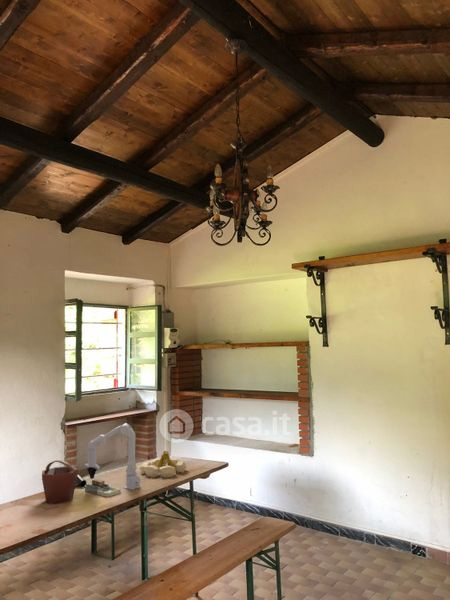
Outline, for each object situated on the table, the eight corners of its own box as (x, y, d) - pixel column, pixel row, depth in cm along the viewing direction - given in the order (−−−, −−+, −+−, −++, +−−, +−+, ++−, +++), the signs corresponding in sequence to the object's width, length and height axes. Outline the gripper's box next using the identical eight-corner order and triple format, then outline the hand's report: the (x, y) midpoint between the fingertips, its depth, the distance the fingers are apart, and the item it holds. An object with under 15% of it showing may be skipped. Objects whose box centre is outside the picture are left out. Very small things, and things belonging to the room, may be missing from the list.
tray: (120, 492, 317) (120, 488, 317) (107, 497, 308) (107, 493, 308) (109, 490, 323) (109, 486, 324) (96, 494, 315) (96, 490, 315)
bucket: (83, 499, 304) (83, 460, 307) (50, 508, 288) (50, 467, 291) (65, 492, 321) (65, 455, 324) (33, 500, 305) (34, 461, 308)
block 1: (100, 485, 324) (100, 479, 325) (95, 487, 321) (95, 481, 322) (96, 484, 327) (96, 478, 327) (92, 486, 324) (92, 480, 324)
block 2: (104, 486, 322) (104, 480, 322) (99, 488, 319) (99, 482, 319) (100, 485, 324) (100, 479, 325) (96, 487, 321) (96, 481, 321)
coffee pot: (81, 483, 342) (88, 486, 337) (59, 492, 328) (65, 496, 323) (80, 473, 342) (87, 476, 336) (58, 482, 328) (65, 486, 322)
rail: (109, 490, 323) (109, 483, 323) (97, 494, 315) (97, 487, 316) (96, 487, 331) (96, 480, 332) (84, 490, 323) (84, 484, 324)
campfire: (166, 480, 344) (166, 457, 346) (132, 475, 362) (131, 452, 364) (193, 469, 374) (193, 447, 376) (160, 465, 391) (160, 444, 393)
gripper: (81, 458, 330) (80, 478, 328) (93, 460, 321) (93, 481, 320) (89, 456, 336) (89, 475, 334) (102, 458, 327) (102, 478, 325)
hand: (92, 478), depth 327 cm, fingers closed
